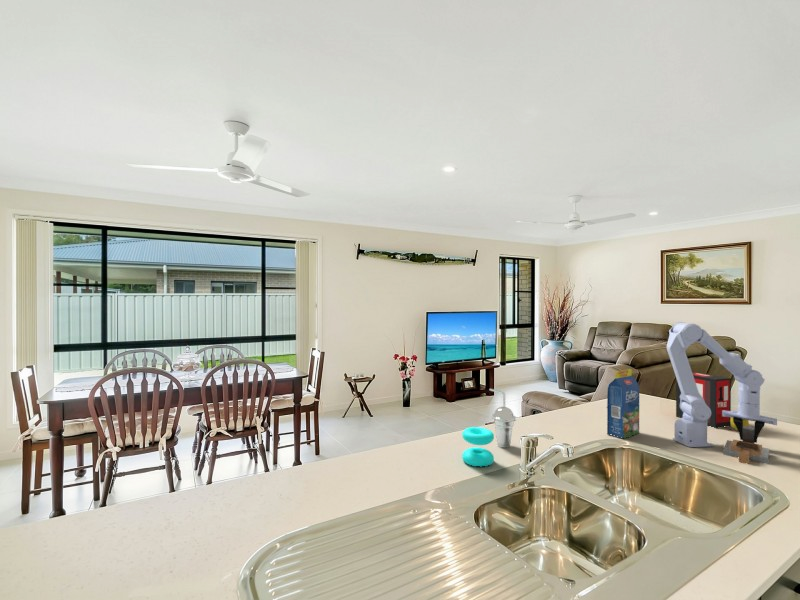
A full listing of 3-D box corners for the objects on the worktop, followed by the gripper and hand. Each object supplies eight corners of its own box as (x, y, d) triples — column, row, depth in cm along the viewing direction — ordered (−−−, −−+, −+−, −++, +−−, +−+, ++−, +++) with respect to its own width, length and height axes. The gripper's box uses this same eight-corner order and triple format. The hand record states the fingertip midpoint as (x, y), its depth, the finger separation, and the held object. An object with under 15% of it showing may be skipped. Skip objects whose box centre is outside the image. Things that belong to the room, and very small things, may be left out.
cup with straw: (506, 452, 134) (506, 393, 134) (485, 444, 141) (485, 389, 141) (520, 446, 139) (521, 390, 139) (499, 439, 146) (500, 385, 146)
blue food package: (639, 433, 153) (640, 370, 153) (623, 439, 146) (623, 373, 146) (623, 429, 158) (623, 367, 158) (606, 434, 152) (607, 370, 152)
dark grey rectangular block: (753, 450, 137) (753, 430, 137) (742, 447, 139) (742, 428, 139) (754, 447, 140) (754, 427, 140) (743, 444, 142) (743, 425, 142)
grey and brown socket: (767, 468, 122) (767, 458, 122) (721, 458, 130) (721, 449, 130) (769, 454, 133) (769, 445, 133) (727, 445, 141) (727, 437, 141)
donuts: (460, 434, 123) (464, 424, 132) (460, 466, 123) (464, 454, 132) (493, 437, 120) (494, 427, 129) (493, 470, 120) (494, 457, 130)
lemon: (732, 433, 154) (732, 412, 154) (728, 428, 159) (728, 409, 159) (750, 435, 152) (750, 414, 152) (746, 431, 157) (746, 411, 156)
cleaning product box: (730, 426, 163) (730, 378, 162) (715, 428, 160) (715, 379, 160) (690, 415, 178) (690, 371, 178) (676, 416, 176) (676, 372, 176)
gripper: (777, 404, 137) (777, 443, 137) (723, 396, 147) (723, 432, 147) (776, 408, 132) (776, 448, 132) (721, 400, 142) (721, 437, 142)
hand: (748, 440), depth 139 cm, fingers closed on dark grey rectangular block, 3 cm apart
